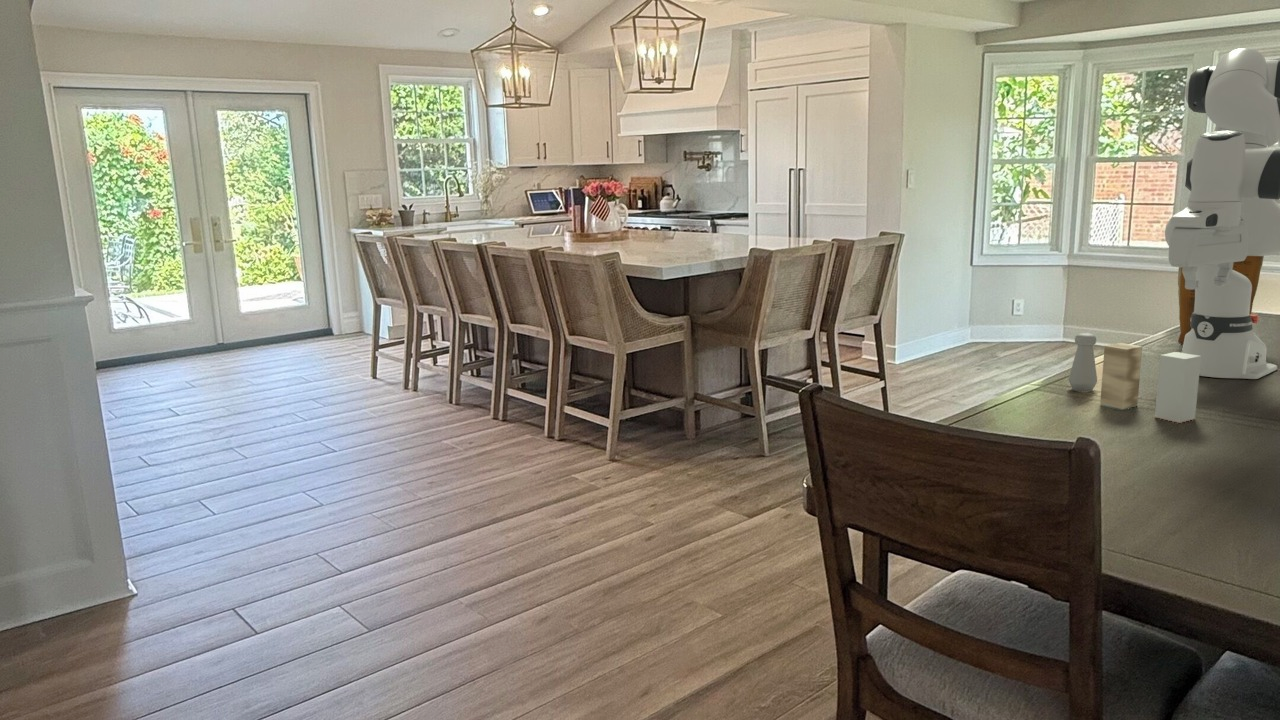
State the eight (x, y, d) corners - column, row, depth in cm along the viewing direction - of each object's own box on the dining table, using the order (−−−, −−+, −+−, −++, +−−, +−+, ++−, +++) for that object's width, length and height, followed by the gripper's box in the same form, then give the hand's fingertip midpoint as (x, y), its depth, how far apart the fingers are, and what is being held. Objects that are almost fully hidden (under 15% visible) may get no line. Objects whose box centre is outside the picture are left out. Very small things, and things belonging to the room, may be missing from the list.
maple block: (1115, 402, 191) (1119, 342, 188) (1137, 406, 187) (1142, 346, 184) (1100, 405, 189) (1104, 345, 186) (1122, 410, 184) (1127, 349, 182)
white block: (1170, 414, 181) (1175, 351, 178) (1194, 419, 176) (1201, 355, 174) (1154, 418, 178) (1160, 355, 176) (1179, 423, 174) (1185, 359, 171)
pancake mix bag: (1253, 351, 234) (1265, 244, 228) (1170, 344, 245) (1179, 243, 240) (1255, 346, 239) (1266, 242, 233) (1173, 340, 251) (1182, 241, 245)
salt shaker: (1099, 393, 198) (1103, 336, 196) (1071, 393, 200) (1075, 336, 197) (1092, 387, 204) (1095, 331, 201) (1065, 386, 205) (1068, 331, 202)
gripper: (1227, 213, 180) (1221, 281, 183) (1164, 218, 171) (1158, 289, 174) (1261, 214, 174) (1253, 284, 177) (1197, 219, 165) (1190, 292, 168)
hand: (1206, 287), depth 175 cm, fingers open, 8 cm apart
